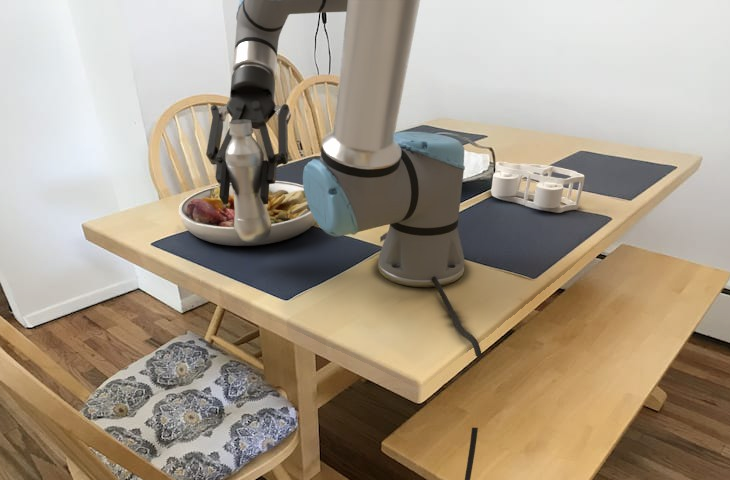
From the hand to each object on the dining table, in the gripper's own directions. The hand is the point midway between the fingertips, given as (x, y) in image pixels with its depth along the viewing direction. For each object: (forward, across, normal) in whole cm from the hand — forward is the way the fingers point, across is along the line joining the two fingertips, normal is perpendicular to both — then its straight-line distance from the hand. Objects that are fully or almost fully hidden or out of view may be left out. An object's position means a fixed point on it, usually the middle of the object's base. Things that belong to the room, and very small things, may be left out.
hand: (243, 200), depth 90 cm
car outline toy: (-18, -57, -38) cm, 71 cm away
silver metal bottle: (+4, 0, -9) cm, 9 cm away
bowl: (-8, +5, -27) cm, 29 cm away
